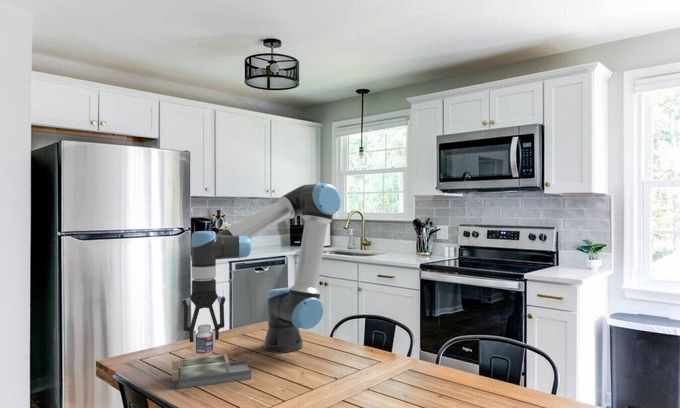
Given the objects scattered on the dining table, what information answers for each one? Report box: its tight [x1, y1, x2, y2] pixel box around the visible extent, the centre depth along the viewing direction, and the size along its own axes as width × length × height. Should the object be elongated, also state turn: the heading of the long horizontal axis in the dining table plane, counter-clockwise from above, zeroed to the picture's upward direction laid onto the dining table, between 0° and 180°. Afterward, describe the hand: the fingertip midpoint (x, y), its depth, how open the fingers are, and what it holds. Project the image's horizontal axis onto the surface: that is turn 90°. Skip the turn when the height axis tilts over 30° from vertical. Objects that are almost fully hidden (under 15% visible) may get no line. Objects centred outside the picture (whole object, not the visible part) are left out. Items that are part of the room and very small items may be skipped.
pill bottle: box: [195, 323, 214, 357], centre depth 152 cm, size 5×5×9 cm
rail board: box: [171, 359, 252, 390], centre depth 152 cm, size 24×11×5 cm, turn 109°
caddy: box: [179, 353, 230, 379], centre depth 152 cm, size 15×9×4 cm, turn 109°
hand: (204, 350), depth 152 cm, fingers closed on pill bottle, 5 cm apart
